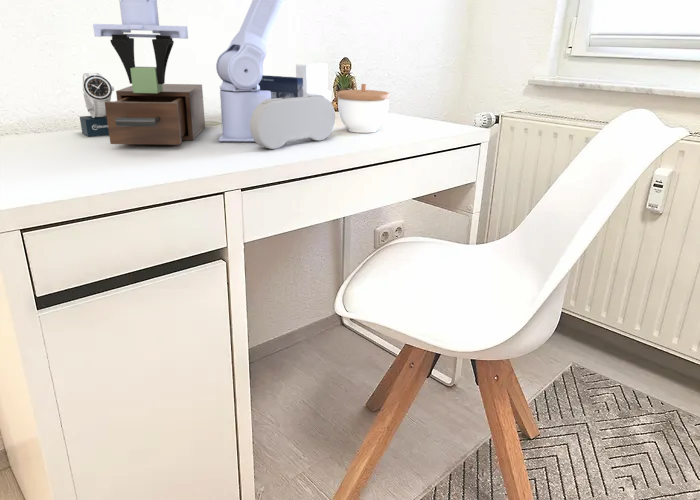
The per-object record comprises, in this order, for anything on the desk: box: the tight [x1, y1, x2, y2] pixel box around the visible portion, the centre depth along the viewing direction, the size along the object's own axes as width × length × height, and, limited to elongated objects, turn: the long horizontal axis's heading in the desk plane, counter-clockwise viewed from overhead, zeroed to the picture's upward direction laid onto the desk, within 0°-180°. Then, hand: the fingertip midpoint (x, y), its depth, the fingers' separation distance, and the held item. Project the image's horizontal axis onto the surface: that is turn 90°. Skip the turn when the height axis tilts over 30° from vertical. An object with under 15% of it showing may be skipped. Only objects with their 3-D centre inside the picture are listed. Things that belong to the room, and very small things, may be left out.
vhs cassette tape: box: [258, 74, 303, 99], centre depth 120 cm, size 18×3×10 cm, turn 64°
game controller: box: [250, 95, 336, 150], centre depth 98 cm, size 20×2×8 cm, turn 140°
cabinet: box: [115, 83, 206, 141], centre depth 105 cm, size 15×13×9 cm
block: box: [130, 66, 163, 93], centre depth 93 cm, size 4×4×4 cm
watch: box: [79, 72, 115, 138], centre depth 102 cm, size 6×8×11 cm
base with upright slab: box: [295, 62, 332, 103], centre depth 129 cm, size 9×9×12 cm
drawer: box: [105, 96, 188, 146], centre depth 94 cm, size 18×11×7 cm, turn 5°
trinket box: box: [336, 83, 391, 134], centre depth 113 cm, size 11×11×9 cm
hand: (147, 83), depth 93 cm, fingers closed on block, 4 cm apart
